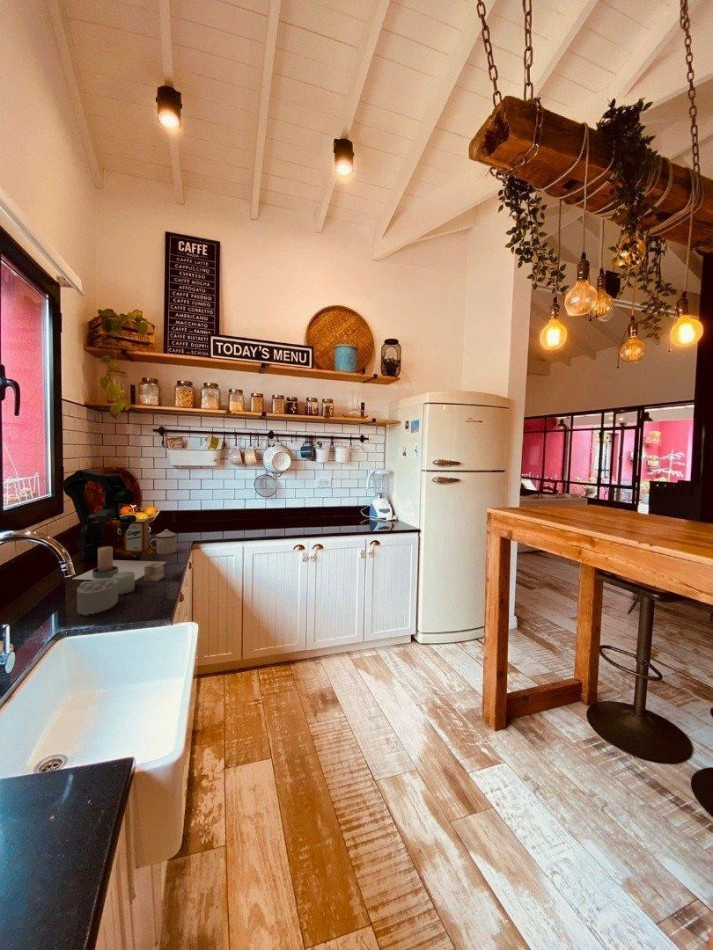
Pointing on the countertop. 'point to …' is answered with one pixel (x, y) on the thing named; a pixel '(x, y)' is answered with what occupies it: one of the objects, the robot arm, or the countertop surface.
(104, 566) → the pink cylinder
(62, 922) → the countertop surface
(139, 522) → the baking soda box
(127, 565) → the board
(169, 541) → the teacup with lid
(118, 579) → the sage jar
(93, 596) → the lumpy-topped squat cylinder
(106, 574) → the metal collar
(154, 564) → the birch block
